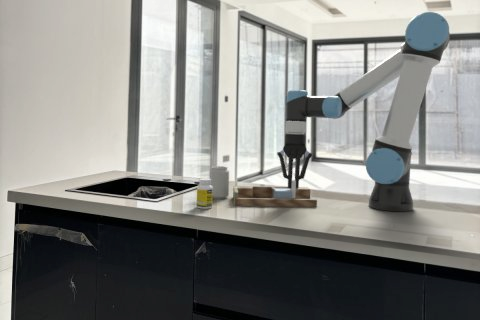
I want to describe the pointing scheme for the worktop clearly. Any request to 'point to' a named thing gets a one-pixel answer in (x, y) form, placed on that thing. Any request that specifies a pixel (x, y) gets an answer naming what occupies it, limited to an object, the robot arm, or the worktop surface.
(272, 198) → the box
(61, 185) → the worktop surface
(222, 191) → the can
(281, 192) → the block
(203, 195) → the supplement bottle
